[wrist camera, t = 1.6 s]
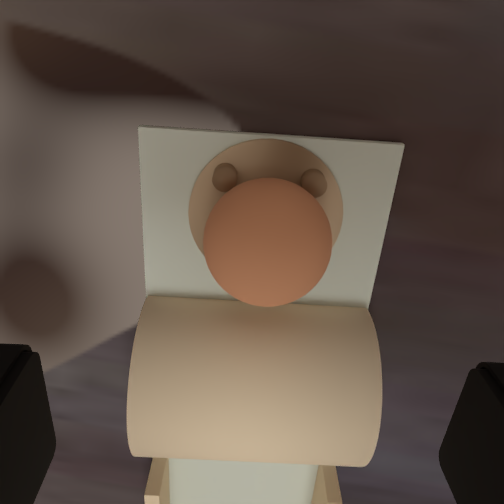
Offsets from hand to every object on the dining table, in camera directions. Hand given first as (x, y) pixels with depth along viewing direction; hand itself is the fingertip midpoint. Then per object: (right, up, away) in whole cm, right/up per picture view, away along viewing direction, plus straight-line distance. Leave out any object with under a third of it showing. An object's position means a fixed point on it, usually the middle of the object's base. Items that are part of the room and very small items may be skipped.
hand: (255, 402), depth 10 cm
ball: (+1, +4, +8) cm, 8 cm away
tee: (+1, +5, +10) cm, 12 cm away
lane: (0, -7, +19) cm, 21 cm away
